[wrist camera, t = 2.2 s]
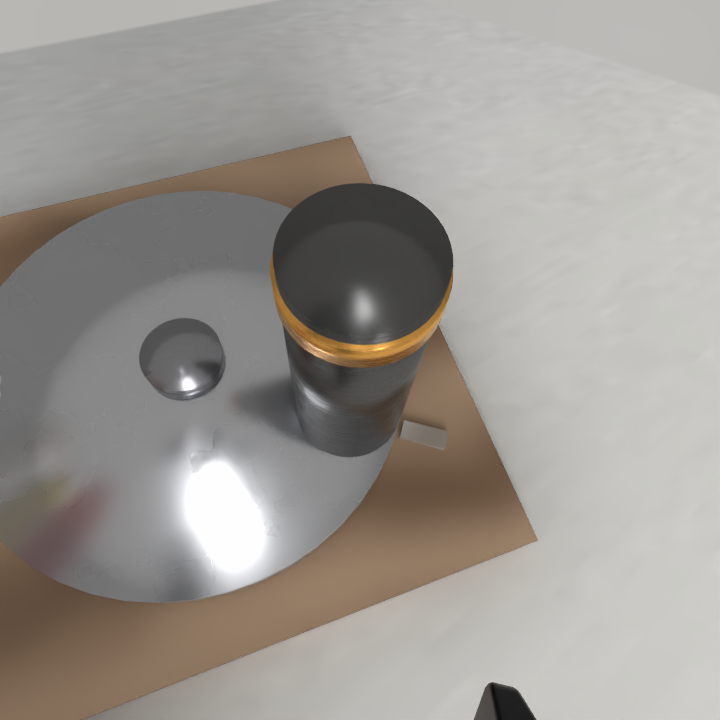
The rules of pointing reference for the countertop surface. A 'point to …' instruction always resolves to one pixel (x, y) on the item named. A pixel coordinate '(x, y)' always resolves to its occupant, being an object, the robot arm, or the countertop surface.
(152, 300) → the dial
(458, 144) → the countertop surface
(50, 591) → the base plate
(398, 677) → the countertop surface
